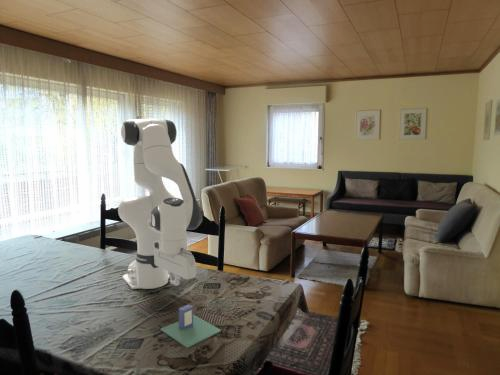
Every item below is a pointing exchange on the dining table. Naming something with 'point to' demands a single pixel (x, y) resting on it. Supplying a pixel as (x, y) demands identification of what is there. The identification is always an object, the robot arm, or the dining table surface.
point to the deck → (185, 317)
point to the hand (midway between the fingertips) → (175, 284)
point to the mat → (191, 332)
